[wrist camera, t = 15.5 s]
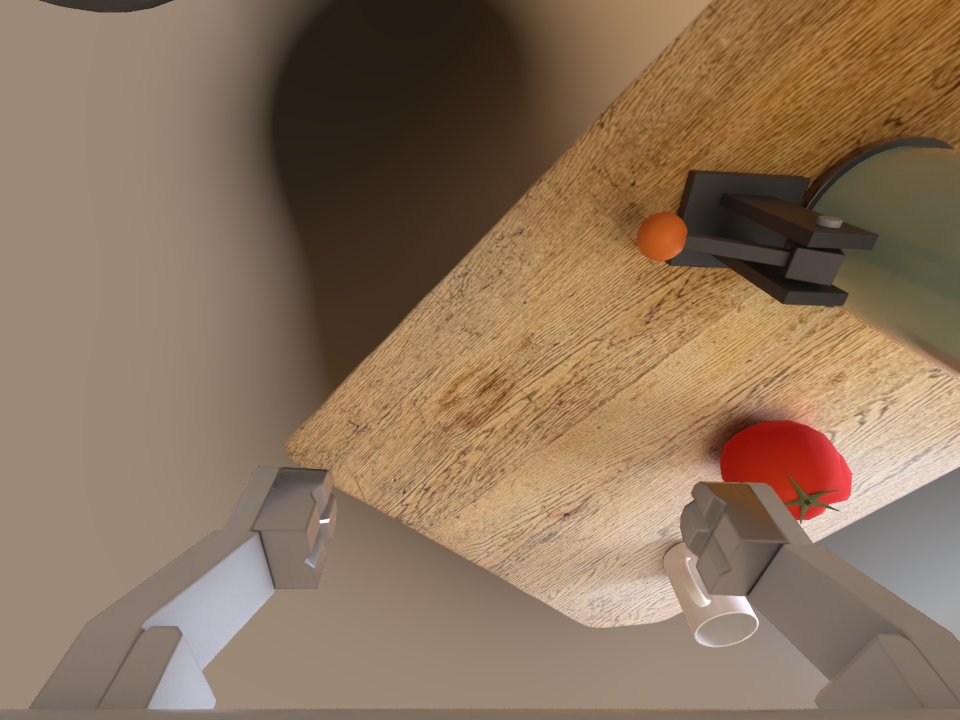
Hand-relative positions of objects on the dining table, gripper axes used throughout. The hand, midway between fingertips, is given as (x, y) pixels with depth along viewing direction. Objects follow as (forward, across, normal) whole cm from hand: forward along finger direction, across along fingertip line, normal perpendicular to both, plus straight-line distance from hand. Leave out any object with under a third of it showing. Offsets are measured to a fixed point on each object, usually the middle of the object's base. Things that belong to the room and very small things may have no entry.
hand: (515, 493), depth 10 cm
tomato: (+34, -36, +27) cm, 56 cm away
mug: (+33, -33, +47) cm, 66 cm away
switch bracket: (+34, -23, +2) cm, 41 cm away
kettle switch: (+27, -19, +2) cm, 33 cm away
